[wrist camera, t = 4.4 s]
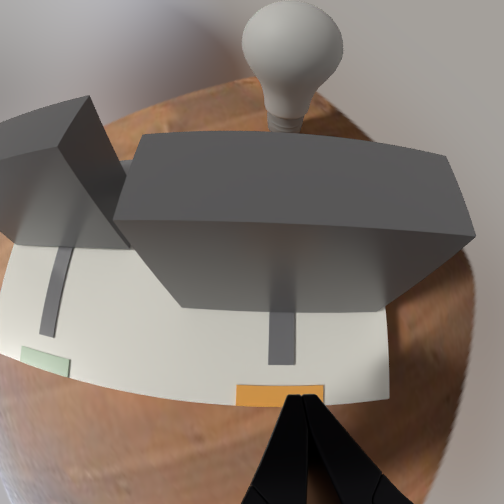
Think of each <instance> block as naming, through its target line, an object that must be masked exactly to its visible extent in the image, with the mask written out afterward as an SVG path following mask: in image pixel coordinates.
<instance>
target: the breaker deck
mask: <svg viewBox="0 0 504 504" xmlns="http://www.w3.org/2000/svg"><path fill="white" fill-rule="evenodd" d="M120 163H121V165H122V167H123V169H124V171H125V173H126V175H127V174H128V171H129V168H130V166H131V163H132V160H124V161H120ZM0 353H1V354H3V355H5V356H8V357H10V358H13V359H15V360H18V361H20V362H23V363H26V364H28V365H31V366H34V367H37V368H40V369H43V370H46V371H49V372H52V373H55V374H58V375H61V376H65V377H69V378H72V379H76V380H79V381H83V382H87V383H91V384H94V385H99V386H103V387H107V388H111V389H116V390H121V391H126V392H131V393H136V394H141V395H147V396H153V397H159V398H166V399H173V400H181V401H189V402H198V403H209V404H221V405H236V406H257V407H283V404H284V402H285V399H286V396H287V395H288V394H300V395H301V396H302V395H303V394H316V395H317V396H318V397H319V398H320V399H321V401H322V402H323V403H324V404H325V405H336V404H348V403H358V402H367V401H375V400H383V399H389V354H388V335H387V321H386V310H385V306H384V307H383V308H381V309H380V310H378V311H377V312H353V313H290V312H252V311H228V310H209V309H193V308H182V307H181V306H180V305H179V304H178V303H177V302H176V300H175V299H174V298H173V297H172V296H171V294H170V293H169V292H168V291H167V290H166V288H165V287H164V286H163V285H162V284H161V282H160V281H159V280H158V279H157V277H156V276H155V275H154V274H153V273H152V271H151V270H150V269H149V268H148V266H147V265H146V264H145V262H144V261H143V260H142V259H141V257H140V256H139V255H138V254H137V252H136V251H135V250H134V248H133V247H132V246H130V249H109V248H82V247H55V246H29V245H16V244H15V243H14V246H13V249H12V252H11V256H10V259H9V262H8V266H7V269H6V273H5V276H4V280H3V284H2V288H1V292H0Z"/></svg>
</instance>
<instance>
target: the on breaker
mask: <svg viewBox="0 0 504 504" xmlns="http://www.w3.org/2000/svg"><path fill="white" fill-rule="evenodd" d="M126 177H127V175H126V173H125V171H124V169H123V167H122V165H121V163H120V161H119V159H118V157H117V155H116V153H115V151H114V149H113V147H112V145H111V142H110V140H109V138H108V136H107V134H106V132H105V129H104V127H103V125H102V123H101V121H100V119H99V116H98V114H97V112H96V109H95V107H94V105H93V103H92V100H91V98H90V96H84V97H80V98H76V99H72V100H68V101H64V102H61V103H57V104H53V105H50V106H47V107H43V108H40V109H37V110H34V111H31V112H28V113H25V114H22V115H19V116H17V117H14V118H11V119H9V120H6V121H4V122H1V123H0V232H2V233H3V234H4V235H5V236H6V237H7V238H9V239H10V240H11V241H12V242H13V243H15V244H16V245H29V246H55V247H82V248H109V249H130V246H131V244H130V243H129V242H128V240H127V239H126V238H125V236H124V235H123V234H122V232H121V231H120V230H119V228H118V227H117V226H116V224H115V223H114V221H113V217H114V214H115V210H116V207H117V204H118V201H119V198H120V195H121V191H122V188H123V186H124V183H125V180H126Z"/></svg>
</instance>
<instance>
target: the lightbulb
mask: <svg viewBox="0 0 504 504" xmlns="http://www.w3.org/2000/svg"><path fill="white" fill-rule="evenodd" d="M242 49H243V52H244V56H245V58H246V61H247V62H248V64H249V66H250V67H251V69H252V71H253V72H254V74H255V75H256V77H257V78H258V79H259V81H260V83H261V86H262V88H263V93H264V100H265V107H266V109H267V111H268V113H267V116H268V117H267V119H268V128H269V130H270V131H271V132H282V133H299V132H300V130H301V126H302V122H303V118H304V115H305V114H306V113H307V111H308V109H309V105H310V102H311V99H312V97H313V95H314V93H315V92H316V90H317V89H318V88H319V87H320V86H321V85H322V84H323V83H324V82H325V81H326V80H327V79H328V78H329V77H330V76H331V75H332V74H333V73H334V72H335V70H336V68H337V67H338V65H339V63H340V61H341V59H342V55H343V40H342V36H341V32H340V30H339V29H338V27H337V25H336V23H335V22H334V21H333V19H332V18H331V17H330V16H329V15H328V14H326V13H325V12H324V11H323V10H321V9H319V8H318V7H316V6H314V5H312V4H309V3H305V2H301V1H293V0H288V1H279V2H275V3H272V4H269V5H267V6H265V7H263V8H262V9H260V10H259V11H257V13H255V14H254V15H253V16H252V17H251V19H250V20H249V21H248V23H247V25H246V27H245V29H244V33H243V37H242Z"/></svg>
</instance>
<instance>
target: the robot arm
mask: <svg viewBox="0 0 504 504" xmlns="http://www.w3.org/2000/svg"><path fill="white" fill-rule="evenodd" d="M241 504H413V503H412V502H411V501H410V500H409V499H408V498H406V497H405V496H404V495H403V494H402V493H401V492H400V491H399V490H398V489H397V488H396V487H395V486H394V485H393V484H392V483H391V482H390V481H389V479H388V478H387V477H386V476H385V475H384V474H382V472H381V471H380V469H379V468H378V467H377V466H376V465H375V464H374V463H373V461H372V460H371V459H370V458H369V457H368V456H367V454H366V453H365V452H364V451H363V450H362V449H361V447H360V446H359V445H358V444H357V443H356V442H355V440H354V439H353V438H352V437H351V436H350V435H349V433H348V432H347V431H346V430H345V429H344V427H343V426H342V425H341V424H340V423H339V421H338V420H337V419H336V418H335V417H334V415H333V414H332V413H331V412H330V410H329V409H328V408H327V407H326V406H325V404H324V403H323V402H322V401H321V399H320V398H319V397H318V396H317V395H316V394H303V395H302V396H301V395H300V394H288V395H287V396H286V399H285V402H284V404H283V407H282V409H281V412H280V415H279V417H278V420H277V422H276V425H275V428H274V430H273V433H272V435H271V438H270V440H269V442H268V445H267V447H266V450H265V452H264V454H263V457H262V459H261V461H260V464H259V466H258V468H257V471H256V473H255V475H254V477H253V479H252V482H251V484H250V486H249V488H248V490H247V492H246V494H245V496H244V498H243V500H242V502H241Z"/></svg>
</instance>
